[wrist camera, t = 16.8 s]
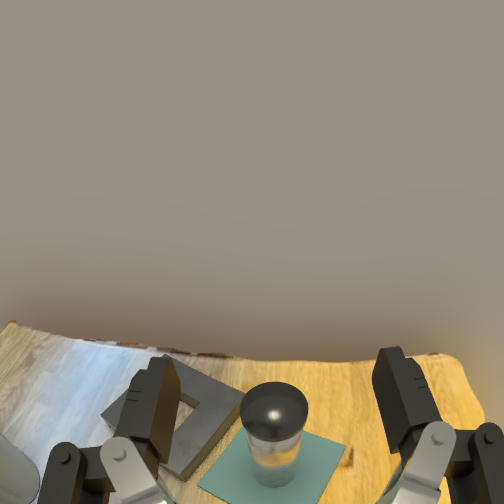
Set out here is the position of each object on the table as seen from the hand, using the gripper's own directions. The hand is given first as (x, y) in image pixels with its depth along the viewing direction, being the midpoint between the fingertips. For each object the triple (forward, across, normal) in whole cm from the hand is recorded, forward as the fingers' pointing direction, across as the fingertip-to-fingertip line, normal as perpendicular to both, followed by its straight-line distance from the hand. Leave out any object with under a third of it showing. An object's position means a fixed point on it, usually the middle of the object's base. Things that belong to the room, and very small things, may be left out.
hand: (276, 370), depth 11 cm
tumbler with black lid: (+6, 0, +28) cm, 28 cm away
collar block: (+14, +13, +28) cm, 34 cm away
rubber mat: (+6, 0, +28) cm, 29 cm away
